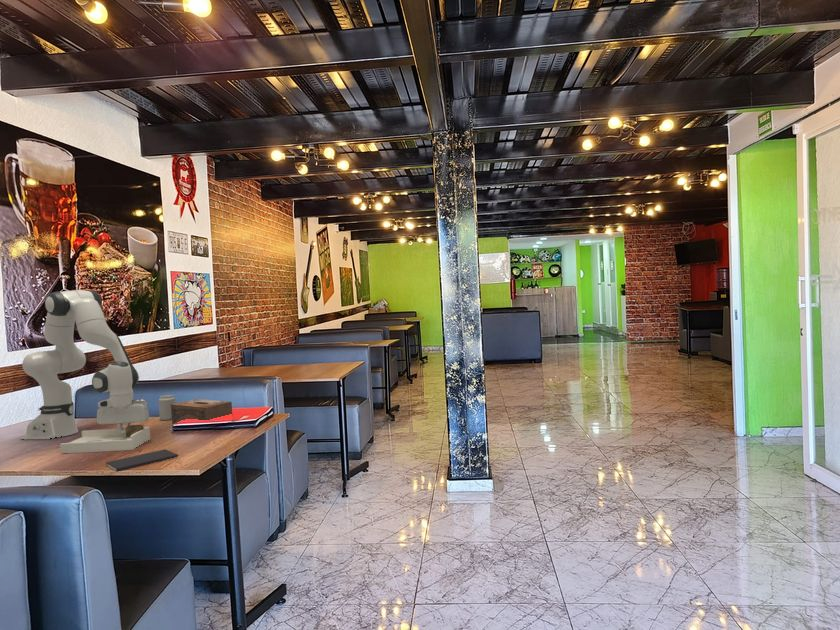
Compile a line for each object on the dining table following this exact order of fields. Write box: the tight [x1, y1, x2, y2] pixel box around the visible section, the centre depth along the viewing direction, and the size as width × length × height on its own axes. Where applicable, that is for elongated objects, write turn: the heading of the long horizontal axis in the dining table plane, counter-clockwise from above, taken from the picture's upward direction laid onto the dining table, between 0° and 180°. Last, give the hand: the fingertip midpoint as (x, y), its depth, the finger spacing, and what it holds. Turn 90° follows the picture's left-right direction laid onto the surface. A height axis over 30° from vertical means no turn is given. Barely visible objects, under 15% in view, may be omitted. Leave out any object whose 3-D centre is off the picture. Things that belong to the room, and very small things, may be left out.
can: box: [158, 394, 176, 422], centre depth 284 cm, size 8×8×12 cm
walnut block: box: [125, 424, 144, 437], centre depth 238 cm, size 5×5×4 cm
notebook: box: [105, 449, 179, 472], centre depth 209 cm, size 13×2×21 cm
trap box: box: [59, 426, 151, 454], centre depth 234 cm, size 28×16×6 cm, turn 92°
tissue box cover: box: [171, 398, 233, 425], centre depth 271 cm, size 26×14×10 cm, turn 58°
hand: (124, 433), depth 237 cm, fingers closed
